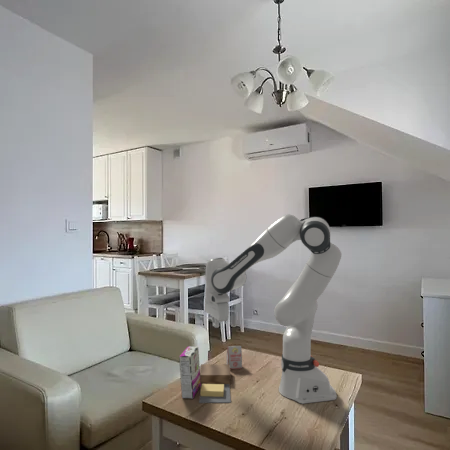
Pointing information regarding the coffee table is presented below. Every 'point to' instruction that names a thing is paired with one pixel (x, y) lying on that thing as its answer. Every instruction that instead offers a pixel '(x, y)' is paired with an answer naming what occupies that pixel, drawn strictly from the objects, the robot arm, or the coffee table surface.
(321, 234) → the robot arm
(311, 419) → the coffee table surface
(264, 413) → the coffee table surface
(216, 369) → the deck
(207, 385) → the pale yellow rectangular block
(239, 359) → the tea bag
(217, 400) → the mat
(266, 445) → the coffee table surface
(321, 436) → the coffee table surface
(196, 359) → the candy bar box
